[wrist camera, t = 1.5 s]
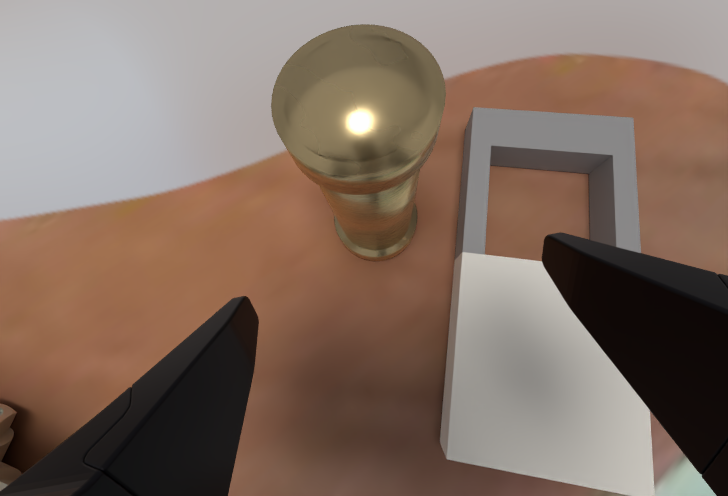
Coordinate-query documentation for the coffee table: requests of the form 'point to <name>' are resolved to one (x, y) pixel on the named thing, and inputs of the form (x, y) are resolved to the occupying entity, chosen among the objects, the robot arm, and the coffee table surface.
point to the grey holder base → (541, 319)
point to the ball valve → (6, 445)
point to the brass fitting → (362, 129)
